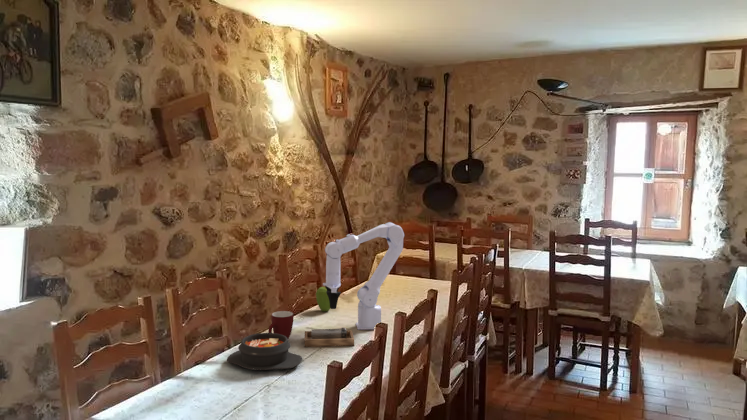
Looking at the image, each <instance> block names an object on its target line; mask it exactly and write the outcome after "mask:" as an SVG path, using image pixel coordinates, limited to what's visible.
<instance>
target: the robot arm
mask: <svg viewBox="0 0 747 420" xmlns="http://www.w3.org/2000/svg"><path fill="white" fill-rule="evenodd" d="M376 238H384V239H386V241H387V244H388V249H387V251H386V253H385V254H384V255H383V257H382V259H381V260H380V262H379V264H378V265H377V267H376V269H375V270H374V271H373V274H371V275H372V276H371V277H370V279H368V281H366V282H365V283H364V285H362V286H361V287H360V288H359V289H358V290H357V292H356V297H357V299H358V300H359V301H358V304H357V322H355V325H356V328H357V330H358V331H359V330H360V331H361V330H362V331H363V330H375V329H374V327H375V325H376V324H377V323H380V322H381V323H382V307H381V305H379V304H378V305H377V303H378V298H379V295H380V293H381V287H382V285H383V283H384V282H385V281H386V279H387V277H388V275H389V274H390V272H391V270H393V268H394V267H393V266H394V265H395V264H396V262H397V261H398V258H399V257H400V256H401V254H402V253H403V250H404V238H405V232H404V230H403V228H402V227H401V225H398V224H395V223H393V222H391V221H389V222H386V223H385V224H384V223H383V224H382V223H381V224H379V225H377V226H375V227H372V228H371V229H369V230H367V231H365V232H362V233H360V234H358V235H355V234H350V233H348V234H346V236H345V237H343V238H340V239H335V241H330V242H329V243H327V244H326V246H325V248H324V251H325V254H326V261H325V264H326V265H325V282H323V283H322V287H326V289H327V291H326V293H327V295H328V298H329V303H330V310H336V309H337V305H338V302H339V297H340V295H341V294H342V292H341V291H339V289H340V287H341V285H342V283H341V268H342V267H341V264H342V263H341V262H342V261H341V257H342V255H343V254H347V253H348V252H351V251H353V250H357V249H358V248H359V246H360V244H362V243H366V242H368V241H370V240H374V239H376Z"/></svg>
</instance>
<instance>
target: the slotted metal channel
mask: <svg viewBox="0 0 747 420" xmlns="http://www.w3.org/2000/svg"><path fill="white" fill-rule="evenodd" d="M310 331H311V339H343V338H346V337H347V328H346V327H341V328H314V329H313V328H311V330H310Z"/></svg>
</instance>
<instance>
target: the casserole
mask: <svg viewBox="0 0 747 420" xmlns="http://www.w3.org/2000/svg"><path fill="white" fill-rule="evenodd" d="M291 346H292V344H291V343H290V342H289V339H287V337H286V336H284V335H281V334H277V333H273V332H272V333H269V332H261V333H260V332H259V333H253V334H250V335H247V336H245V337H243V338H242V340H241V342H240V344H239V345H238V346H237V347H238V348H237V349H238V350H236V351H234V352H232V353H231V354H229V355H228V356H227V358H226V361H227V362H228V363H230V364H234V365H237V366H239V367H241V368H243V369H247V370H252V371H271V370H290V369H292V368H295V367H297V366H299V365H300V364H301V363H302V362H303V357H302V356H301V355H300V354H297V353H291V352H290V351H289V349H290V348H291Z"/></svg>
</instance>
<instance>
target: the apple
mask: <svg viewBox="0 0 747 420" xmlns="http://www.w3.org/2000/svg"><path fill="white" fill-rule="evenodd" d="M326 291H327V289H326V287H325V286H320V287H319V288H317V290H316V292H315V296H316V297H315V299H316V303H317V305H318V308H319V309H320V311H321V312H329V311H330V310H331V308H330V303H329V298H328V295H327V293H326Z"/></svg>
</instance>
